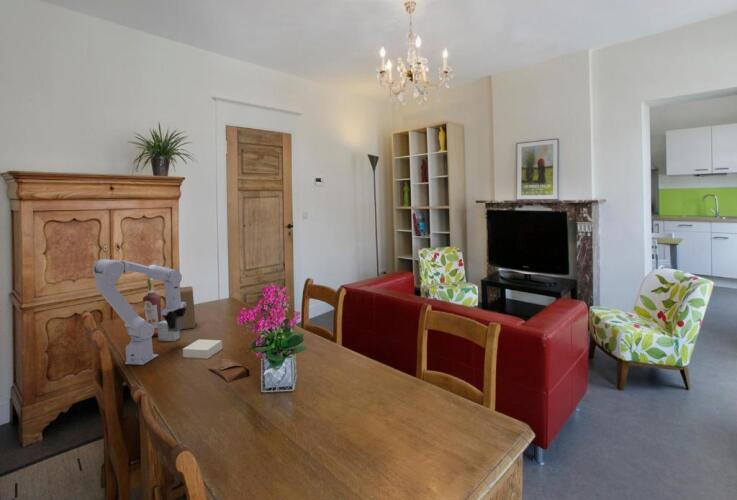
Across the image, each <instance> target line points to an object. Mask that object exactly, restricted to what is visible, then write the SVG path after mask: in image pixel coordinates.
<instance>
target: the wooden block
mask: <svg viewBox="0 0 737 500" xmlns="http://www.w3.org/2000/svg"><path fill="white" fill-rule="evenodd" d="M180 297H181V302H186V306H185V307H183V308H186V311H185V313H184V316H183V324H184V328H183V330H189V329H190V330H191V329H195V328H196V315H195V314H196V313H195V303H194V302H195V300H194V288H193V286H182V287H181V286H180ZM172 313H173V312H172ZM181 330H182V329H181ZM181 330H180V331H181Z"/></svg>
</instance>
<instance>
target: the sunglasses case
mask: <svg viewBox="0 0 737 500" xmlns="http://www.w3.org/2000/svg"><path fill="white" fill-rule="evenodd" d="M207 369H208V370H207V371H209V370H210V371H209V372H212V373H213V374H216V375H217V376H218V377H221V378H222V379H223V380H224V381H225V382H227V383H232V382H235V381H238V380H241V379H242V378H246V377H249V376H250V370H249V368H247V367H245V366H243V365H242V364H240V363H239V362H236V361H234V360H233V359H231V358H229V357H227V356H225V355H222V357H221V358H220V359H219V360H217V361H216V362H215V363H214V364H212V365H211V366H210V367H208V368H207Z"/></svg>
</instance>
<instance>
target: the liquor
mask: <svg viewBox="0 0 737 500" xmlns="http://www.w3.org/2000/svg"><path fill="white" fill-rule="evenodd" d="M146 284H147V294H146V295H145V296H144V297H142V300H143V301H142V302H143V308H144V314H145V321H146V322H147V323H149V324H152V325H153V326H154V334H153V335H152V338H153V337H155V338H156V337H158V328H157V323H159V322H161V321H162V315H161V311H162V304H161V303H162V301H161V295H160V294H157V293H156V292H155V286H154V279H152V278H148V277H147V278H146Z"/></svg>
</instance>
